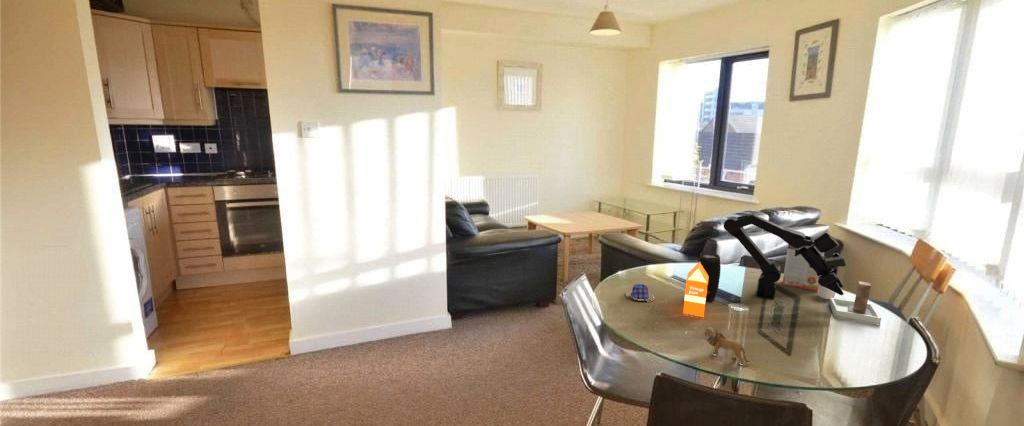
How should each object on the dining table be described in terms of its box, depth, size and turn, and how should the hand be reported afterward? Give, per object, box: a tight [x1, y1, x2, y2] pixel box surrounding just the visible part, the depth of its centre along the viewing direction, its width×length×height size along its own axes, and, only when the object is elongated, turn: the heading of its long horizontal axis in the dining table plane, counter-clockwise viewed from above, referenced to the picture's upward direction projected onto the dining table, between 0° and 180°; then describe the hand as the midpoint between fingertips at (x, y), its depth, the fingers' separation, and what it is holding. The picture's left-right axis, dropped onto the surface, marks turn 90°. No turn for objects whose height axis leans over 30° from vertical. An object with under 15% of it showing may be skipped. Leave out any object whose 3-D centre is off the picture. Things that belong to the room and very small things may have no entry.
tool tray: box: [829, 297, 882, 326], centre depth 181 cm, size 14×14×3 cm
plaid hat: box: [630, 283, 655, 302], centre depth 194 cm, size 12×12×5 cm
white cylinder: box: [817, 284, 836, 300], centre depth 197 cm, size 7×7×7 cm
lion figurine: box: [703, 326, 750, 365], centre depth 147 cm, size 15×5×9 cm, turn 56°
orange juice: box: [682, 262, 709, 318], centre depth 179 cm, size 8×9×20 cm
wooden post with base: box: [848, 280, 872, 315], centre depth 178 cm, size 6×6×12 cm
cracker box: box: [782, 243, 825, 292], centre depth 206 cm, size 14×6×21 cm, turn 58°
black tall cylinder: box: [697, 252, 722, 303], centre depth 191 cm, size 9×9×20 cm
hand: (842, 290), depth 181 cm, fingers open, 9 cm apart
